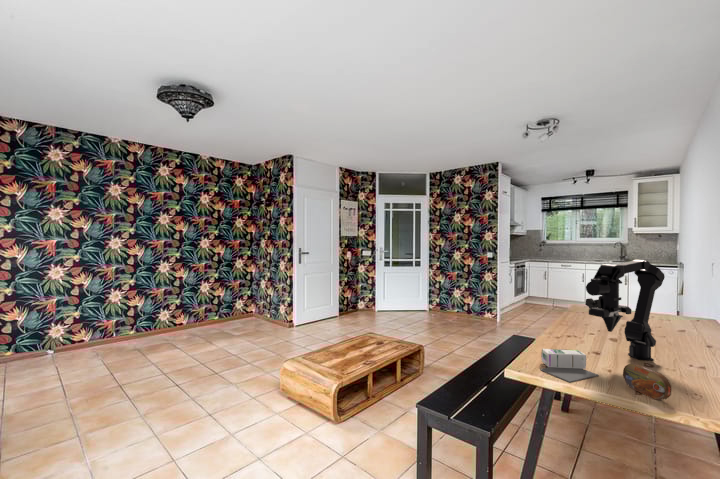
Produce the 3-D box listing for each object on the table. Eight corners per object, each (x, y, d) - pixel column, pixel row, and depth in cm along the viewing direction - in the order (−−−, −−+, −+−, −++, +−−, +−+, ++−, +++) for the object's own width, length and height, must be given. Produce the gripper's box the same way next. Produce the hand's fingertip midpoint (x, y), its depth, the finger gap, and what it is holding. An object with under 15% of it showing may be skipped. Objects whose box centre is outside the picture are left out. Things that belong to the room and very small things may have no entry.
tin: (622, 383, 117) (622, 360, 117) (630, 383, 117) (630, 359, 117) (664, 405, 102) (664, 378, 102) (673, 404, 102) (673, 377, 102)
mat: (568, 364, 135) (568, 363, 135) (598, 375, 124) (598, 374, 124) (540, 370, 129) (540, 369, 129) (569, 382, 118) (569, 381, 118)
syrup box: (586, 354, 129) (547, 352, 130) (586, 369, 129) (547, 367, 131) (578, 349, 134) (541, 347, 136) (578, 364, 134) (541, 361, 136)
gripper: (604, 290, 148) (604, 324, 148) (576, 292, 141) (575, 328, 141) (632, 294, 137) (632, 331, 137) (603, 297, 131) (603, 336, 131)
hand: (609, 331), depth 137 cm, fingers closed
